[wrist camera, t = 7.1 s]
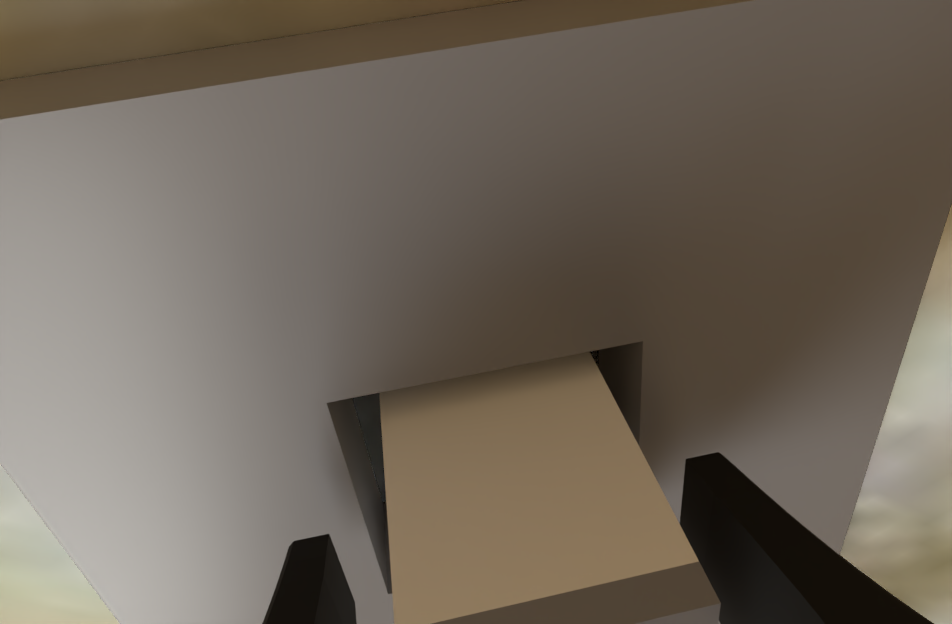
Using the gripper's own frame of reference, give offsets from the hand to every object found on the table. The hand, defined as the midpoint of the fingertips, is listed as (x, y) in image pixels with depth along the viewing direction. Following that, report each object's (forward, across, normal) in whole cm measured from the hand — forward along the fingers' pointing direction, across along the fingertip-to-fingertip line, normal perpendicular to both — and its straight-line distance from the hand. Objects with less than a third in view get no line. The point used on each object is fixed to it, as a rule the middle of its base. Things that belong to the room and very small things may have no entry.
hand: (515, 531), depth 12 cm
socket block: (+4, 0, 0) cm, 4 cm away
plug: (+4, 0, 0) cm, 4 cm away
